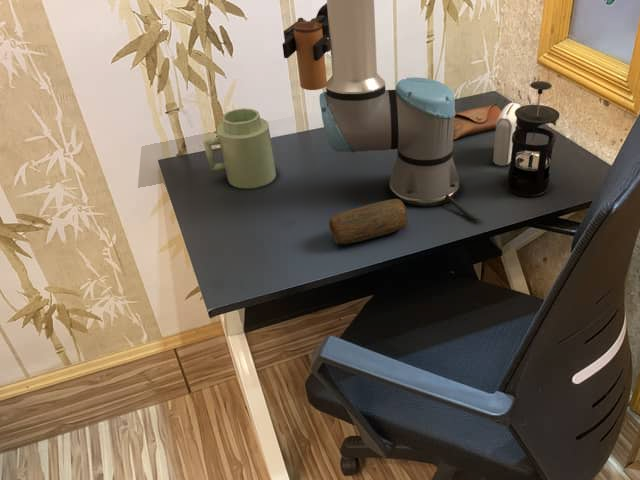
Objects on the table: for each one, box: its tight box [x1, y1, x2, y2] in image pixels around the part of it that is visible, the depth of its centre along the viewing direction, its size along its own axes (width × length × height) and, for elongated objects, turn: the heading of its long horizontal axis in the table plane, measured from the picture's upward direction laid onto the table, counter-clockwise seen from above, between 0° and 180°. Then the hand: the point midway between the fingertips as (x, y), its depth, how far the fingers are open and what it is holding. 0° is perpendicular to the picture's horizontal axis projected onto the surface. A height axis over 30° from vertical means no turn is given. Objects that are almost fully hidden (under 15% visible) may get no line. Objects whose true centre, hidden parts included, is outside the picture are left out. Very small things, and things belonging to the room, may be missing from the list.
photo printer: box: [492, 102, 522, 167], centre depth 144 cm, size 10×4×12 cm, turn 157°
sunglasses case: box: [453, 103, 502, 140], centre depth 159 cm, size 18×7×7 cm, turn 118°
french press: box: [505, 80, 561, 198], centre depth 130 cm, size 12×9×23 cm
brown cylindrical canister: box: [293, 20, 328, 91], centre depth 127 cm, size 6×6×12 cm
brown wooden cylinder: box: [328, 198, 408, 245], centre depth 121 cm, size 15×7×7 cm, turn 117°
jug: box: [203, 107, 277, 189], centre depth 137 cm, size 11×14×14 cm
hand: (300, 52), depth 121 cm, fingers closed on brown cylindrical canister, 6 cm apart
